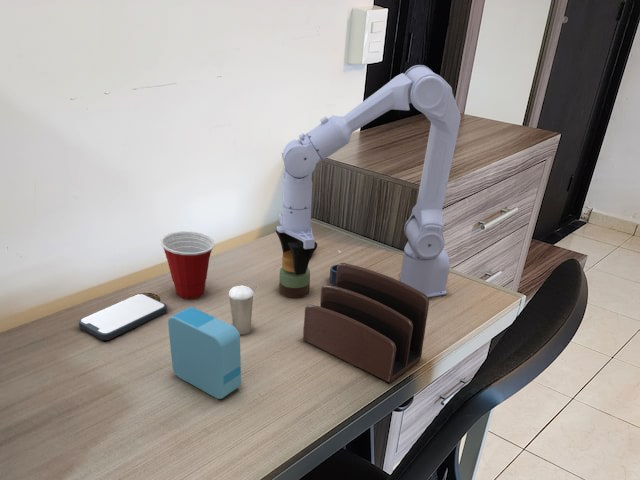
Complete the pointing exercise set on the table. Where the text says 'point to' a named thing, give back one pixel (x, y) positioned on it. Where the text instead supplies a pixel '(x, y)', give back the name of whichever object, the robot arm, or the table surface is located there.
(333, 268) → the small cup
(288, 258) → the orange short cylinder
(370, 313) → the letter holder
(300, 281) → the sage chip
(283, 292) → the walnut chip
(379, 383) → the table surface
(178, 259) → the plastic cup
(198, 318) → the data package
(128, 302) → the smartphone
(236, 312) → the milkshake
